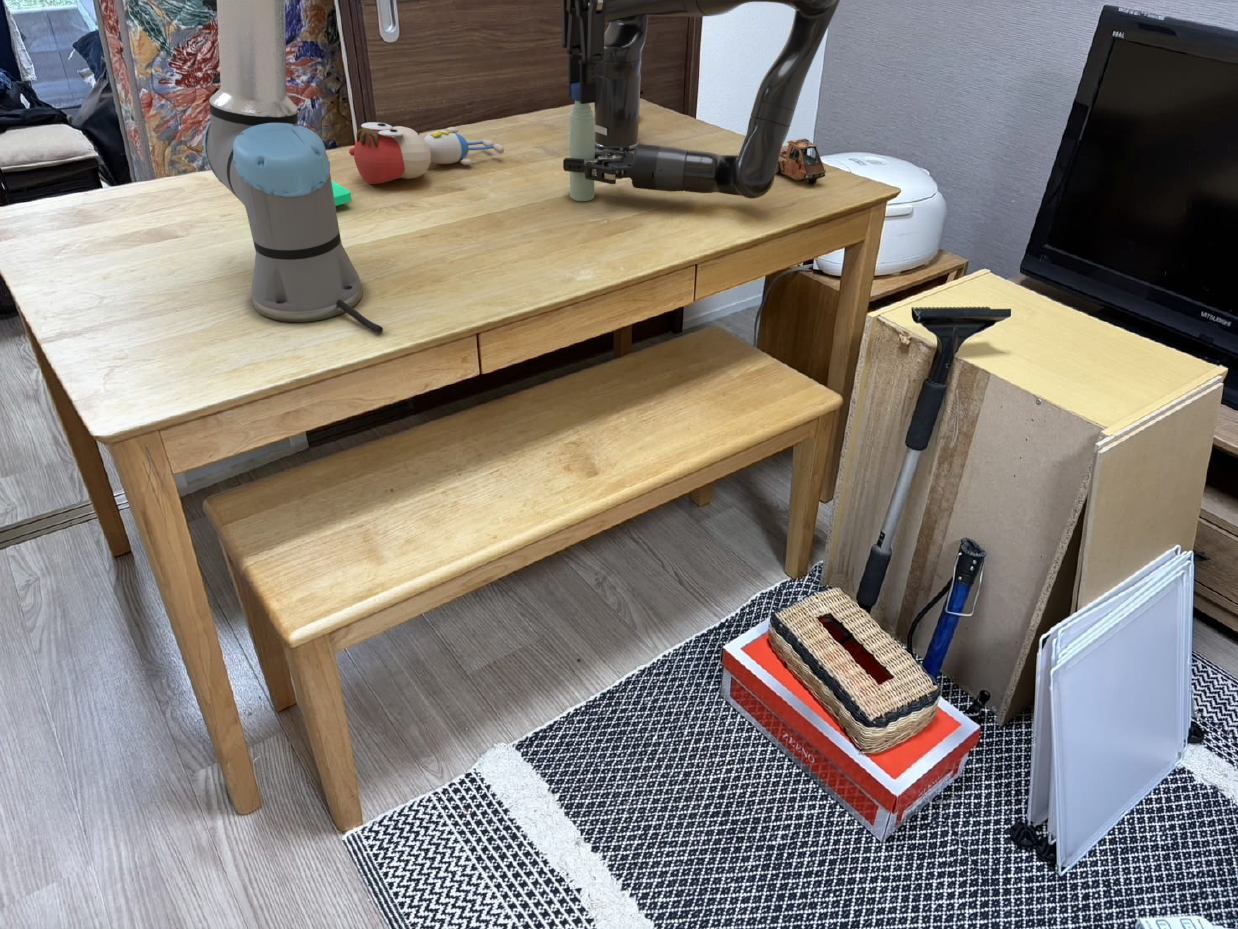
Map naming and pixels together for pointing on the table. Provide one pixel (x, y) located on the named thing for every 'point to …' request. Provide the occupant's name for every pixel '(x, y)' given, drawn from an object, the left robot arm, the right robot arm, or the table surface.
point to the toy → (408, 151)
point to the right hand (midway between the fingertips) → (567, 159)
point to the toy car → (800, 162)
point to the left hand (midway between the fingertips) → (582, 98)
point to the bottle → (582, 149)
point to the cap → (575, 91)
